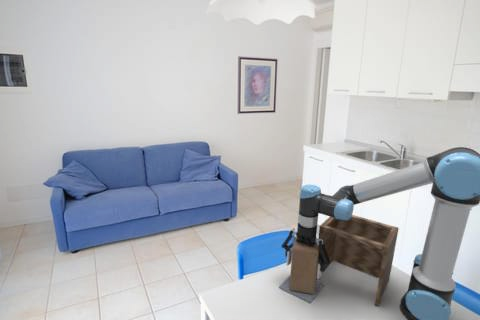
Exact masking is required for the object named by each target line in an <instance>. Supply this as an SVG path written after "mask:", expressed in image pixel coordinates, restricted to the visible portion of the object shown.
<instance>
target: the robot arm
mask: <svg viewBox="0 0 480 320" xmlns="http://www.w3.org/2000/svg"><path fill="white" fill-rule="evenodd" d="M430 184H432V185H431V190H430V195H431V196H432V197H433V199H434V203H433V207H432V212H431V215H430V220H429V224H428V227H427V228H428V229H427V233H426V236H425V237H426V238H425V241H424V246H423V249H422V253H420V254H417V255H415V257H414V260H413V264H412V271H411V274H410V279H409V282H408V286H407V287H408V288H407V291H406V292H405V293H404V295H403V296H402V297H401V299H400V301H399V309H400V311H401V313H402V315H403V316H404V317H405V318H406V319H407V320H449V319H450V316H451V314H452V309H451V306H452V301H453V299H454V298H453V297H454V293H455V291H456V286H457V284H456V282H455V280H454V279H453V278H452V277H453V275H454V270H455V267H456V262H457V259H458V255H459V251H460V249H461V245H462V241H463V239H464V238H463V237H464V235H465V232H466V231H465V230H466V227H467V224H468V223H467V222H468V220H469V216H470V213H471V209H472V208H474V207H476V206H478V205H480V153H479V152H478V151H476V150H475V149H472V148H471V147H465V146H459V147H458V146H455V147H452V148H449V149H447V150H444V151H442V152H439V153H436V154H434V155H431V156H427V157H426V158H425V159H424V161H423V162H420V163H416V164H414V165H413V164H412V165H410V166H406V167H403V168H401V169H397V170H395V171H392V172H389V173H386V174H382V175H379V176H375V177H373V178H370V179H367V180H363V181H361V182H357V183H354V184H351V185H350V184H349V185H348V184H346V185H344V186H342V187H340V188H339V189H338V190H337V191H336V192H335V193H334V194H333V195H328V194H326V193H325V194H324V193H322V191H321V189H322V188H321V187H320V186H318V185H316V184H305V185H303V186H301V188H300V192H299V205H298V207H299V208H298V216H297V217H298V218H297V230H296V229H295V228H292V229H291V230H289V234H288V236H287V238H286V239H285V240H284V242H283V243H282V244H281V248H282V249H284V250H285V252H284V253H285V258H286V266H287V267H288V266H289V265H291V261H292V249H293V242H292V243H290V241H291V240H292V239H293V237H295V236H297V238H298V239H297V240H296V242H301V243H304V244H307V245H309V246H310V247H312V248H313V247H314V246H315V245H316V243H315V242H317V244H318V245H319V249H320V251H319V255H318V261H319V262H320V263H319V264H318V271H317V280H319V279H320V278H321V277H322V274H323V273H324V272H323V270H324V267H325V265H328V264H329V263H330V259H329V257H328V254H327V251H326V248H325V245H324V239H318V237H317V233H318V231H317V230H318V223H319V222H318V221H319V214H320V215H323V216H327V217H333V218H336V219H341V220H346V221H347V220H349V219H350V218H351V216H352V215H353V212H354V206H355V205H359V204H361V203H364V202H369V201H373V200H376V199H379V198H384V197H387V196H391V195H394V194H398V193H402V192H406V191H408V190H409V191H410V190H413V189H416V188H420V187H423V186H427V185H430ZM289 243H290V244H289ZM288 244H289V245H288ZM313 244H315V245H314V246H312V245H313ZM330 264H331V263H330ZM330 264H329V265H330ZM322 272H323V273H322ZM321 273H322V274H321Z"/></svg>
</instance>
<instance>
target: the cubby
mask: <svg viewBox="0 0 480 320" xmlns="http://www.w3.org/2000/svg"><path fill="white" fill-rule="evenodd" d="M318 228H319V229H318V237H317V239H324V245H325V248H326V251H327V254H328V257H329V259H330V263H329V264H328V265H325V267H324V270H323V272H322V273H321V275H323V273H324V272H325V271H326V270H327V268H328V267H329V266H330V264H332V262H335V263H338V264H341V265H344V266H347V267H348V268H352V269H354V270H357V271H359V272H362V273H365V274H367V275H369V276H372V277H374V278H377V279H378V283H377V289H376V293H375V300H374V306H375V307H377V308H378V307H379V306H380V304H381V301H382V298H383V296H384V293H385V291H386V289H387V287H388V284H389V282H390V278H391V272H392V268H393V261H394V255H395V251H396V246H397V245H396V244H397V238H398V234H399V230H400V229H399V227H397V226H395V225H394V226H393V225H390V224H387V223H383V222H379V221H376V220H372V219H368V218H365V217H362V216H358V215H354V214H352V216H351V218H350V219H349V220H347V221H346V220H341V219H336V218H333V217H330V216H328V217H327V219H325V221H324V222H322V223H321V224H320V225H319V227H318ZM319 251H320V249H319ZM319 263H320V262H319V261H318V264H319ZM318 264H317V271H318ZM316 280H317V281H318V279H317V274H316Z"/></svg>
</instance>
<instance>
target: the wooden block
mask: <svg viewBox="0 0 480 320" xmlns="http://www.w3.org/2000/svg"><path fill="white" fill-rule="evenodd" d="M293 237H294V238H293V242H292V243H293V247H292V248H291V249H292V256H291V263H290V273H289V276H290V290H292V291H297V292H303V293H308V294H314V292H315V283H316V274H317V264H318V255H319V245H318V244H317V242H315V243H316V245H315V244H313V245H312V246H314V245H315V246H314V247H313V248H312V247H310V246H309V245H307V244H304V243H301V242H296V240H297V239H298V238H297V236H296V235H294V236H293Z"/></svg>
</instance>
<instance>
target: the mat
mask: <svg viewBox="0 0 480 320" xmlns="http://www.w3.org/2000/svg"><path fill="white" fill-rule="evenodd" d="M324 286H325V283H323V282H321V281H319V280H318V279H317V280H316V283H315V292H314V294H308V293H303V292H297V291H292V290H290V275H289V276H288V277H287V278H286V279H285V280H284V281H283V282H282V283H281V284H280V285H279V286H278V288H279V290H282V291H283V292H286V293H288V294H289V295H292V296H294V297H296V298H298V299H300V300H302V301H304V302H306V303H308V304H312V302H313V301H314V300H315V298H316V297H317V295H318V294H319V293H320V292H321V290H322V289H323V287H324Z"/></svg>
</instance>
